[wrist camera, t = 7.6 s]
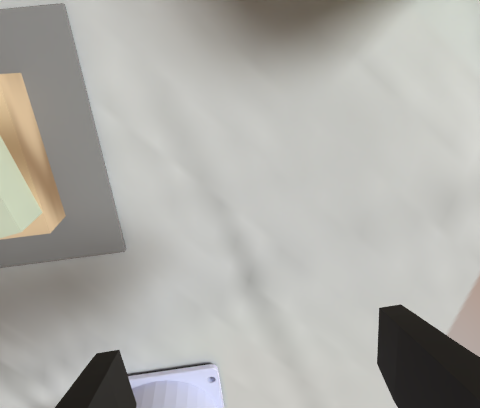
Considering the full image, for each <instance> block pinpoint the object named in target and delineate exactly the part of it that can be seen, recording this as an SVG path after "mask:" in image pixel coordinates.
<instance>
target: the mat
mask: <svg viewBox="0 0 480 408" xmlns="http://www.w3.org/2000/svg"><path fill="white" fill-rule="evenodd" d="M10 73H21V74H22V77H23V81H24V84H25V87H26V90H27V93H28V97H29V100H30V103H31V106H32V109H33V113H34V116H35V119H36V122H37V125H38V129H39V132H40V135H41V138H42V141H43V145H44V148H45V151H46V154H47V157H48V161H49V164H50V167H51V170H52V173H53V177H54V180H55V183H56V186H57V189H58V193H59V196H60V199H61V202H62V205H63V209H64V212H65V215H66V216H65V218H64V219H63V220H62V221H61V222H60V223H59V224H58V225H57V226H56V227H55V229H54V230H53V231H52V232H51V233H49V234H41V235H33V236H25V237H17V238H9V239H1V240H0V268H3V267H11V266H18V265H26V264H34V263H41V262H49V261H57V260H64V259H72V258H80V257H88V256H95V255H103V254H111V253H118V252H125V250H126V247H125V243H124V239H123V235H122V231H121V227H120V223H119V219H118V215H117V211H116V207H115V203H114V199H113V195H112V191H111V187H110V183H109V179H108V175H107V171H106V167H105V163H104V159H103V155H102V151H101V147H100V143H99V139H98V135H97V131H96V127H95V123H94V119H93V115H92V111H91V107H90V103H89V99H88V95H87V91H86V87H85V83H84V79H83V75H82V71H81V67H80V63H79V59H78V55H77V51H76V47H75V43H74V39H73V35H72V31H71V27H70V23H69V19H68V15H67V11H66V7H65V4H62V3H61V4H50V5H40V6H29V7H19V8H8V9H0V74H10Z"/></svg>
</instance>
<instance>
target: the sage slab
mask: <svg viewBox="0 0 480 408" xmlns="http://www.w3.org/2000/svg"><path fill="white" fill-rule="evenodd" d="M42 213H43V212H42V210H41V209H40V207H39V205H38V203H37V201H36V200H35V198H34V196H33V194H32V192H31V190H30V189H29V187H28V185H27V183H26V181H25V179H24V178H23V176H22V174H21V172H20V170H19V169H18V167H17V165H16V163H15V161H14V159H13V158H12V156H11V154H10V152H9V150H8V149H7V147H6V145H5V143H4V141H3V139H2V138H1V136H0V238H3V237H7V236H10V235H14V234H17V233H20V232H22V231H23V230H24V229H25V228H27V227H28V226H29V225H30V224H31V223H32V222H33V221H34V220H35V219H36V218H37V217H38V216H39V215H41V214H42Z"/></svg>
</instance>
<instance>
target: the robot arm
mask: <svg viewBox="0 0 480 408" xmlns="http://www.w3.org/2000/svg"><path fill="white" fill-rule="evenodd" d="M377 364H378V366H379V369H380V371H381V373H382V375H383V378H384V380H385V382H386V385H387V387H388V389H389V391H390V393H391V395H392V398H393V400H394V402H395V403H396V405H397V407H398V408H480V357H478V356H477V355H475V354H474V353H472V352H470V351H469V350H467V349H466V348H465V347H463V346H461V345H459V344H458V343H457V342H455V341H454V340H452V339H451V338H449V337H448V336H447V335H445V334H444V333H442V332H441V331H439V330H438V329H436V328H435V327H433V326H432V325H430V324H429V323H427V322H426V321H424V320H423V319H422V318H420V317H419V316H417V315H416V314H414V313H413V312H411V311H410V310H408V309H407V308H405V307H404V306H402V305H395V306H389V307H383V308H379V332H378V357H377ZM209 377H213V378H209ZM55 408H224V402H223V396H222V390H221V384H220V377H219V371H218V367H217V366H216V365H213V364H208V365H201V366H194V367H187V368H180V369H174V370H167V371H160V372H153V373H146V374H140V375H133V376H128V375H127V372H126V369H125V366H124V363H123V360H122V357H121V354H120V351H119V350H116V351H109V352H103V353H97V354H96V355H95V356H94V357H93V359H92V360H91V361H90V363H89V364H88V365H87V366H86V368H85V369H84V370H83V372H82V373H81V374H80V376H79V377H78V378H77V380H76V381H75V382H74V383H73V385H72V386H71V387H70V389H69V390H68V391H67V393H66V394H65V395H64V397H63V398H62V399H61V401H60V402H59V403H58V404H57V406H56V407H55Z"/></svg>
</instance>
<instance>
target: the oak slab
mask: <svg viewBox="0 0 480 408" xmlns="http://www.w3.org/2000/svg"><path fill="white" fill-rule="evenodd" d="M0 136H1V138H2V139H3V141H4V143H5V145H6V147H7V149H8V150H9V152H10V154H11V156H12V158H13V159H14V161H15V163H16V165H17V167H18V169H19V170H20V172H21V174H22V176H23V178H24V179H25V181H26V183H27V185H28V187H29V189H30V190H31V192H32V194H33V196H34V198H35V200H36V201H37V203H38V205H39V207H40V209H41V210H42V212H43V213H42V214H41V215H39V216H38V217H37V218H36V219H35V220H34V221H33V222H32V223H31V224H30V225H29V226H28V227H27V228H25V229H24V230H23V231H22V232H20V233H17V234H14V235H10V236H7V237H3V238H0V240H1V239H9V238H17V237H25V236H33V235H41V234H49V233H51V232H52V231H53V230H54V229H55V227H56V226H57V225H58V224H59V223H60V222H61V221H62V220H63V219H64V218H65V216H66V215H65V212H64V209H63V205H62V202H61V199H60V196H59V193H58V189H57V186H56V183H55V180H54V177H53V173H52V170H51V167H50V164H49V161H48V157H47V154H46V151H45V148H44V145H43V141H42V138H41V135H40V132H39V129H38V125H37V122H36V119H35V116H34V113H33V109H32V106H31V103H30V100H29V97H28V93H27V90H26V87H25V84H24V81H23V77H22V74H21V73H10V74H0Z"/></svg>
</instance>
